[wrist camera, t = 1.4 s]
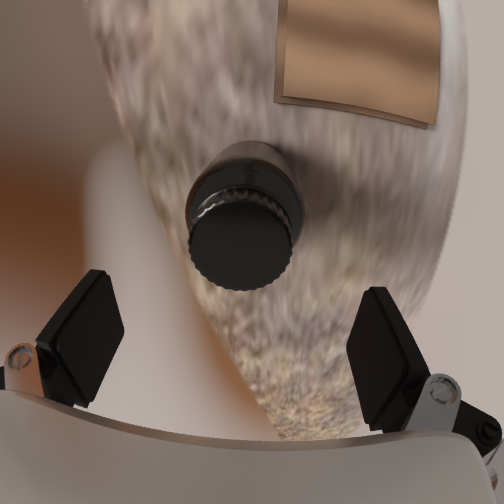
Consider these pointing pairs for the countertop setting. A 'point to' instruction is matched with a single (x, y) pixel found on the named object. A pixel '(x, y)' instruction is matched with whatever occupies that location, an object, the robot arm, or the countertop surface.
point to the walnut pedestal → (360, 57)
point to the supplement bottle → (244, 217)
